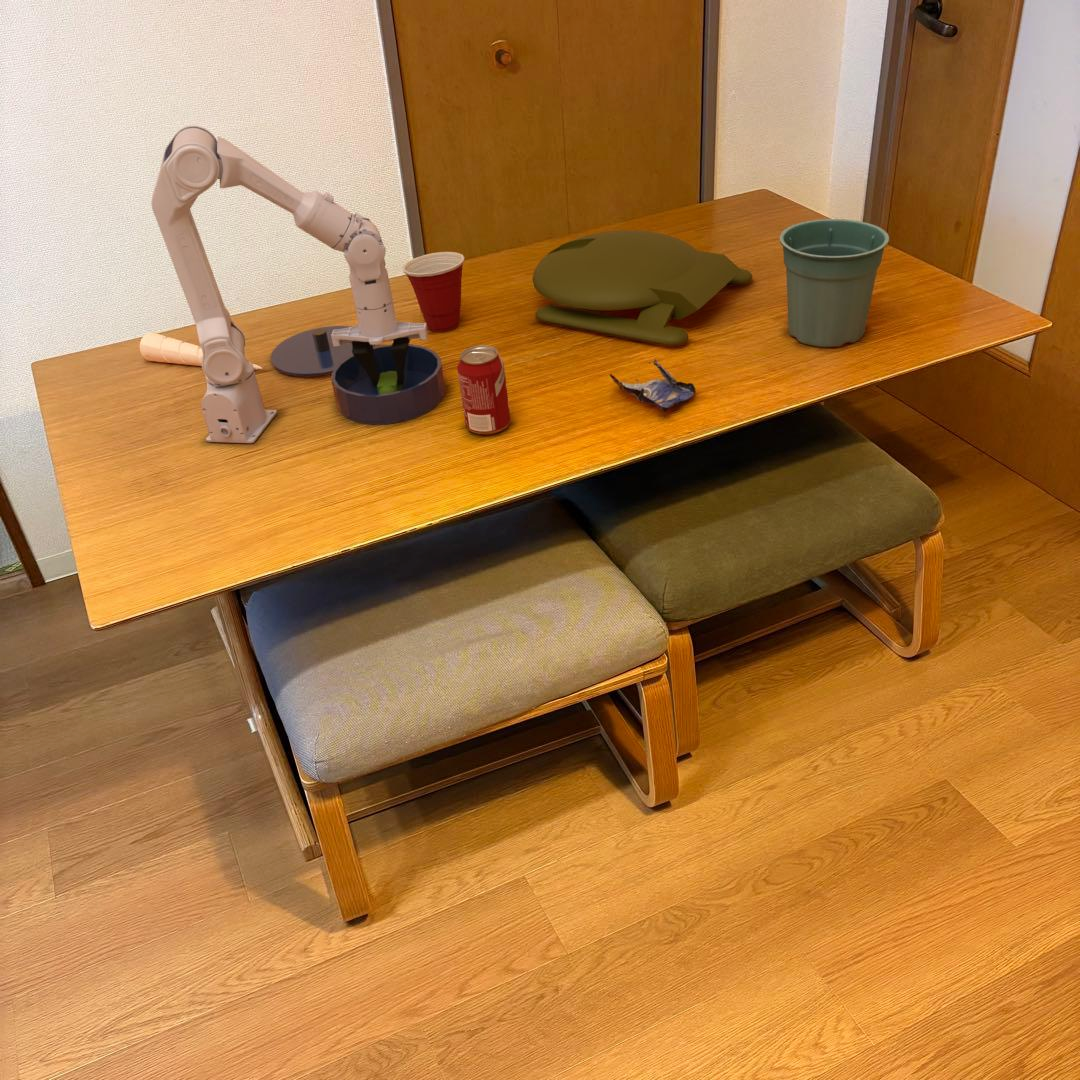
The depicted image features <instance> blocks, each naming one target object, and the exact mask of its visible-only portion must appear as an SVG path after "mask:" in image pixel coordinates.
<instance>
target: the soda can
mask: <svg viewBox="0 0 1080 1080" xmlns="http://www.w3.org/2000/svg"><path fill="white" fill-rule="evenodd" d="M459 359H460V360H459V362H458V363H457V365H456V366H457V367H456V370H457V376H458V377H457V378H458V382H459V383H458V384H459V390H460V396H461V402H462V410H463V417H464V424H465V427H466V429H467V430H468V431H469V432H472V433H474V434H477V435H484V436H488V435H494V434H497V433H500V432H501V431H503V430H505V429H506V428H507V427H508V426H509V425H510V424H511V421H512V420H511V411H510V410H511V409H510V402H509V395H508V387H507V377H506V370H505V363H504V359H503V358H502V357H501V356H500V355H499V350H498V349H497V348H496V347H495V346H492V345H485V344H479V345H473V346H470V347H467V348H465V349H464V350H463V351H462V352H460V353H459Z"/></svg>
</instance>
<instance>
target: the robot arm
mask: <svg viewBox="0 0 1080 1080" xmlns="http://www.w3.org/2000/svg"><path fill="white" fill-rule="evenodd" d="M218 180H219V189H227V188H232V187H244V188H246V189H247V190H249V191H251V192H253V193H254V194H257V195H258V196H260V197H262V198H264V199H266V200H267V201H269V202H271V203H273V204H275V205H276V206H278V207H279V208H281V209H283V210H284V211H286V212H289V213H290V214H292V217H293V220H294V224H295V226H296V228H298V229H300V230H301V231H303V232H305V233H306V234H308V235H309V236H311V237H313V238H314V239H316V240H317V241H319V242H321V243H322V244H324V245H326V246H328V247H329V248H331V249H332V250H334V251H337V252H342V253H344V254H343V256H344V259H345V261H346V263H347V264H348V268H349V275H348V278H349V284H350V288H351V292H352V298H353V303H354V308H355V312H356V313H355V314H356V317H357V324H358V325H353V326H351V327H348V328H343V329H337V330H333V332H332V334H331V337H332V342H333V346H334V347H335V346H340V345H341V344H350V343H352V348H353V349H352V353H353V356H354V357H355V358H356V359H357V360H358V361H359V362H360V363H361V365H362V366H363V367H364V369H365V370H366V372H367V374H368V376H369V377H370V380H371V382H372V384H373V386H377V385H378V381H379V375H378V370H377V366H376V362H375V357H374V350H373V345H375V346H376V345H377V346H378V345H382V344H383V343H384V342H389V341H390V342H391V341H392V347H391V351H392V354H393V357H394V361H395V365H396V371H397V379H398V383H399V385H402V384H403V383H404V379H405V377H404V367H405V358H406V353H407V349H408V346H409V344H410V341H411V340H416V339H419V340H420V341H426V340H428V337H429V331H428V330H429V329H428V326H427V324H426V322H409V321H397V317H396V311H395V306H394V301H393V294H392V289H391V283H390V278H389V271H388V270H387V268H386V259H385V258H386V251H387V249H386V246H385V245H384V241H383V240H382V236H381V233H380V230H379V229H378V226H376V225H375V223H373V222H372V221H371V219H370V218H369V217H366V216H362V215H361V214H360V213H358V212H355V213H354V214H353V213H352V212H351V211H349V210H347V209H346V208H344V207H343V206H341V205H339V203H336V202H335V199H334V196H333V195H332V194H330V193H329V192H327V191H324V194H322V193H321V192H319V191H318V190H313V191H306V192H304V191H303V192H302V191H301V190H300V189H298V188H297V187H295V186H294V185H292V184H291V183H290V182H288V181H287V180H285V179H284V178H282V177H281V176H279V175H278V174H276V173H275V172H274V171H273V170H271V169H269V168H268V167H267V166H265V165H263V164H262V163H261V162H259V161H258V160H256V159H255V158H253V156H250V155H249V154H248V153H246V152H245V151H243V150H242V149H240V148H239V147H238V146H236V145H235V144H233V143H232V142H230V141H229V140H227V139H226V138H224V137H221V136H219V135H217V137H215V135H214V134H213V132H211V131H210V130H208V129H207V128H205V127H203V126H199V125H187V126H184V127H182V128H180V129H179V130H177V132H176V133H175V134H174V136H172V137H171V140H169V142H168V144H167V145H166V146H165V148H164V152H163V156H162V160H161V163H160V166H159V170H158V174H157V177H156V181H155V185H154V188H153V190H152V196H151V203H150V205H151V210H152V212H153V215H154V217H155V220H156V223H157V226H158V228H159V230H160V234H161V236H162V239H163V241H164V244H165V246H166V249H167V252H168V255H169V257H170V260H171V263H172V265H173V268H174V270H175V273H176V276H177V279H178V281H179V284H180V286H181V289H182V292H183V294H184V297H185V300H186V302H187V304H188V307H189V310H190V313H191V315H192V317H193V320H194V323H195V328H196V333H197V339H198V343H199V346H200V347H201V348H202V352H203V357H202V366H201V369H202V372H203V374H204V378H205V381H206V391H205V394H204V396H203V397H202V399H201V404H200V408H201V412H202V414H203V418H204V421H205V425H206V427H207V430H208V435H207V436H206V438H205V441H206V442H209V443H231V444H254V443H255V442H256V441H257V440H258V438H259V437H260V435H261V434H262V433H263V432H264V431H265V430H266V428H267V427H268V425H269V424H270V423H271V422H272V420H273V419H274V417H275V416H276V415H277V414H278V411H277V410H276V409H265V405H264V402H263V397H262V395H261V390H260V386H259V383H258V379H257V376H256V371H255V370H254V368H253V363H252V362H251V363H252V364H251V363H250V361H249V360H248V359H247V358H246V354H245V353H246V351H245V350H246V349H245V347H246V337H245V334H244V332H243V331H242V330H241V328H239V326H238V325H237V324H235V322H234V321H233V319H232V316H231V314H230V311H229V310H228V309H227V307H226V306H225V302H224V300H223V297H222V295H221V292H220V289H219V286H218V283H217V281H216V277H215V275H214V272H213V269H212V266H211V264H210V261H209V258H208V255H207V252H206V250H205V246H204V244H203V242H202V239H201V236H200V233H199V229H198V227H197V224H196V222H195V219H194V216H193V213H192V210H191V209H192V207H193V205H194V204H195V202H196V200H197V199H198V197H199V196H200V195H203V193H205V192H207V191H208V190H209V189H210V188H211V187H213V186H214V185H215V184H216V182H217V181H218Z"/></svg>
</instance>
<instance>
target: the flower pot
mask: <svg viewBox="0 0 1080 1080" xmlns="http://www.w3.org/2000/svg"><path fill="white" fill-rule="evenodd" d="M889 241H890V235H889V234H888V232H886V230H885V229H883V228H882V227H880V226H877V225H875V224H872V223H870V222H869V223H868V222H865V221H860V220H855V219H845V218H823V219H822V218H821V219H813V220H807V221H806V220H805V221H802V222H799V223H798V222H797V223H795V224H793V225H790V226H788V227H786V228H785V229H784V230H783V231H781V233H780V234H779V243H780V245H781V246H782V251H783V264H784V266H785V273H786V274H785V275H786V276H785V277H786V300H787V301H786V302H787V303H786V304H787V306H786V307H787V327H788V328H787V331H788V334H789V335H790V337H793V338H795V339H796V340H797V341H798V342H799V343H801V344H804V345H808V346H812V347H818V348H837V347H842V346H843V345H844V344H846V343H849V344H853V343H857V341H859V340H861V339H862V337H863V336H864V334H865V331H866V326H867V322H868V316H869V311H870V307H871V301H872V296H873V292H874V288H875V282H876V278H877V274H878V269H879V267H880V266H881V264H882V260H883V255H884V251H885V248H886V247H887V246H888V244H889Z"/></svg>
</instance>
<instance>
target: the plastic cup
mask: <svg viewBox="0 0 1080 1080" xmlns="http://www.w3.org/2000/svg"><path fill="white" fill-rule="evenodd" d="M464 262H465V256H464V255H463V254H462V253H459V252H457V251H456V252H455V251H440V252H439V251H438V252H432V253H427V254H423V255H420V256H417V257H414V258H412V259H410V260H409V261H406V262H405V263H404V264H403V265H402V272H403V273H404V274H405V275H406V277H407V278H408V281H409V282H410V285H411V287H412V289H413V292H414V294H415V298H416V300H417V303H418V305H419V309H420V311H421V313H422V316H423V319H424V323H426V324H427V330H429V331H431V332H434V333H445V332H450V331H454V330H456V328H458V327H459V325H460V322H461V307H462V277H463V265H464Z"/></svg>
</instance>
